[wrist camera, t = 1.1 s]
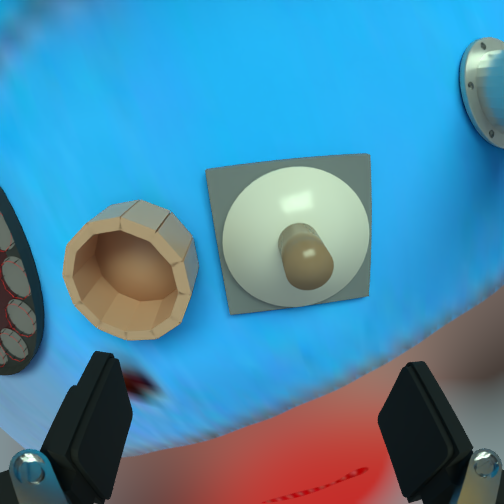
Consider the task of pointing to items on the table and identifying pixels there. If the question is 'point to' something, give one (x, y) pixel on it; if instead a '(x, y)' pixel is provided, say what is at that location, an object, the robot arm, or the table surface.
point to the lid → (295, 236)
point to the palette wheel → (17, 295)
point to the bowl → (132, 270)
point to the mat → (239, 176)
